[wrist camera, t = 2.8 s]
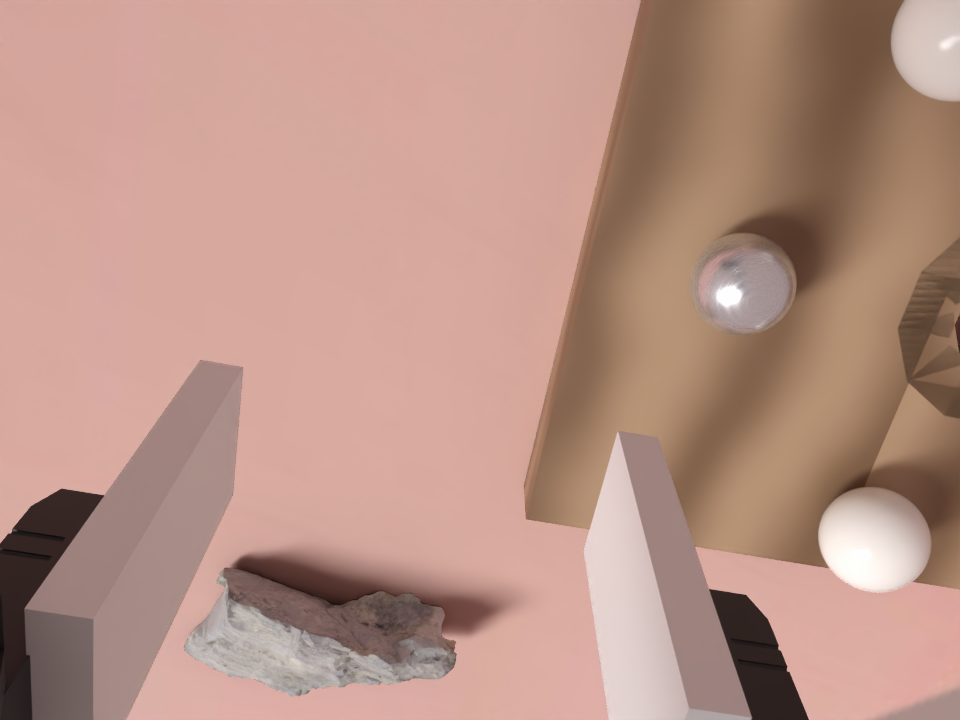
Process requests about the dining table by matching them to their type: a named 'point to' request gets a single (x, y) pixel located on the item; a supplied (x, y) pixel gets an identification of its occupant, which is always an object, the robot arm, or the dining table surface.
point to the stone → (319, 637)
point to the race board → (819, 272)
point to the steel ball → (743, 284)
